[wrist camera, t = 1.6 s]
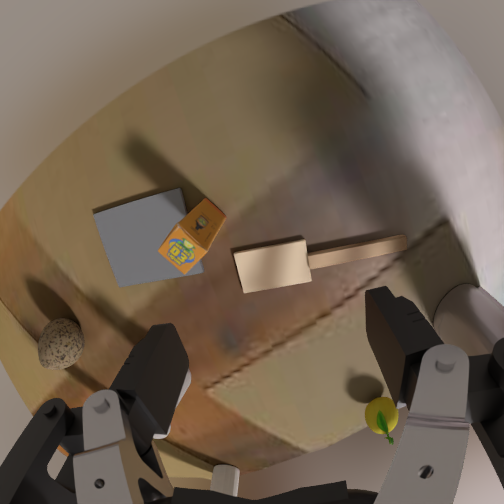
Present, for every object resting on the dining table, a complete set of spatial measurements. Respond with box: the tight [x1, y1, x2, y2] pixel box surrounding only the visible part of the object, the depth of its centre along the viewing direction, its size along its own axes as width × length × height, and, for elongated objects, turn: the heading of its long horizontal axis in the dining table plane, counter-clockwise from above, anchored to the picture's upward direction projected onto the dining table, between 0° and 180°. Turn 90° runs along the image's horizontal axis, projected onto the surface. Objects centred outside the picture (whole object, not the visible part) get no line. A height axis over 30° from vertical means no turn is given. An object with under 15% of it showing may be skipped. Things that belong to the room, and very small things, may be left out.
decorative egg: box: [38, 318, 84, 370], centre depth 34 cm, size 7×7×10 cm
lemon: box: [365, 397, 398, 444], centre depth 36 cm, size 7×6×10 cm
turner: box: [234, 234, 407, 293], centre depth 32 cm, size 20×5×1 cm, turn 103°
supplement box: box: [158, 198, 226, 275], centre depth 26 cm, size 3×3×10 cm
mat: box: [93, 188, 204, 287], centre depth 32 cm, size 12×10×1 cm
